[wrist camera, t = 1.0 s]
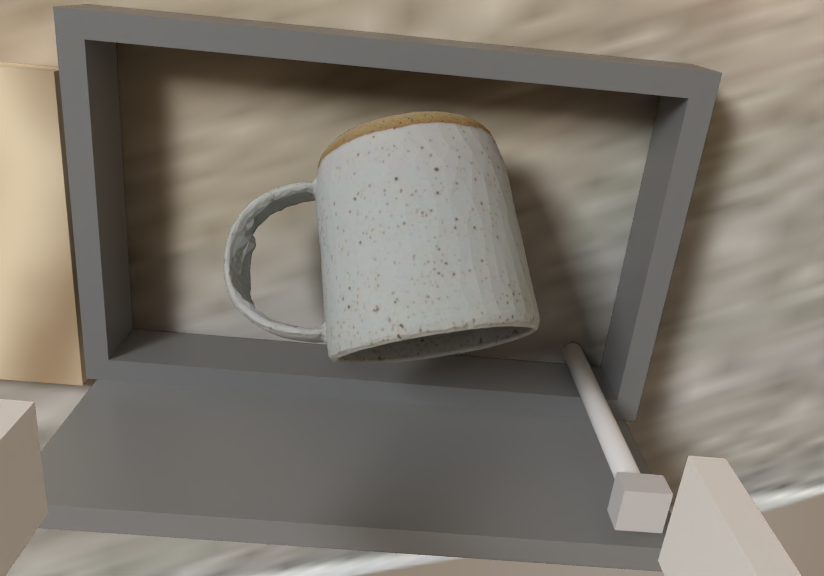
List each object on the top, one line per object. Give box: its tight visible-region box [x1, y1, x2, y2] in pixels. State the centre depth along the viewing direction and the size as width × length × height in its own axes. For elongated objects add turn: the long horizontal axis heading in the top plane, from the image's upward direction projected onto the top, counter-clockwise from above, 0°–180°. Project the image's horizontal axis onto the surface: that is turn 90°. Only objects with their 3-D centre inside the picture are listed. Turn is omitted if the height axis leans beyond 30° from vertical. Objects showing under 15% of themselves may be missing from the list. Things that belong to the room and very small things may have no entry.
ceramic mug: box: [224, 111, 540, 365], centre depth 27 cm, size 11×8×8 cm
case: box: [39, 4, 722, 572], centre depth 27 cm, size 24×16×11 cm, turn 85°
